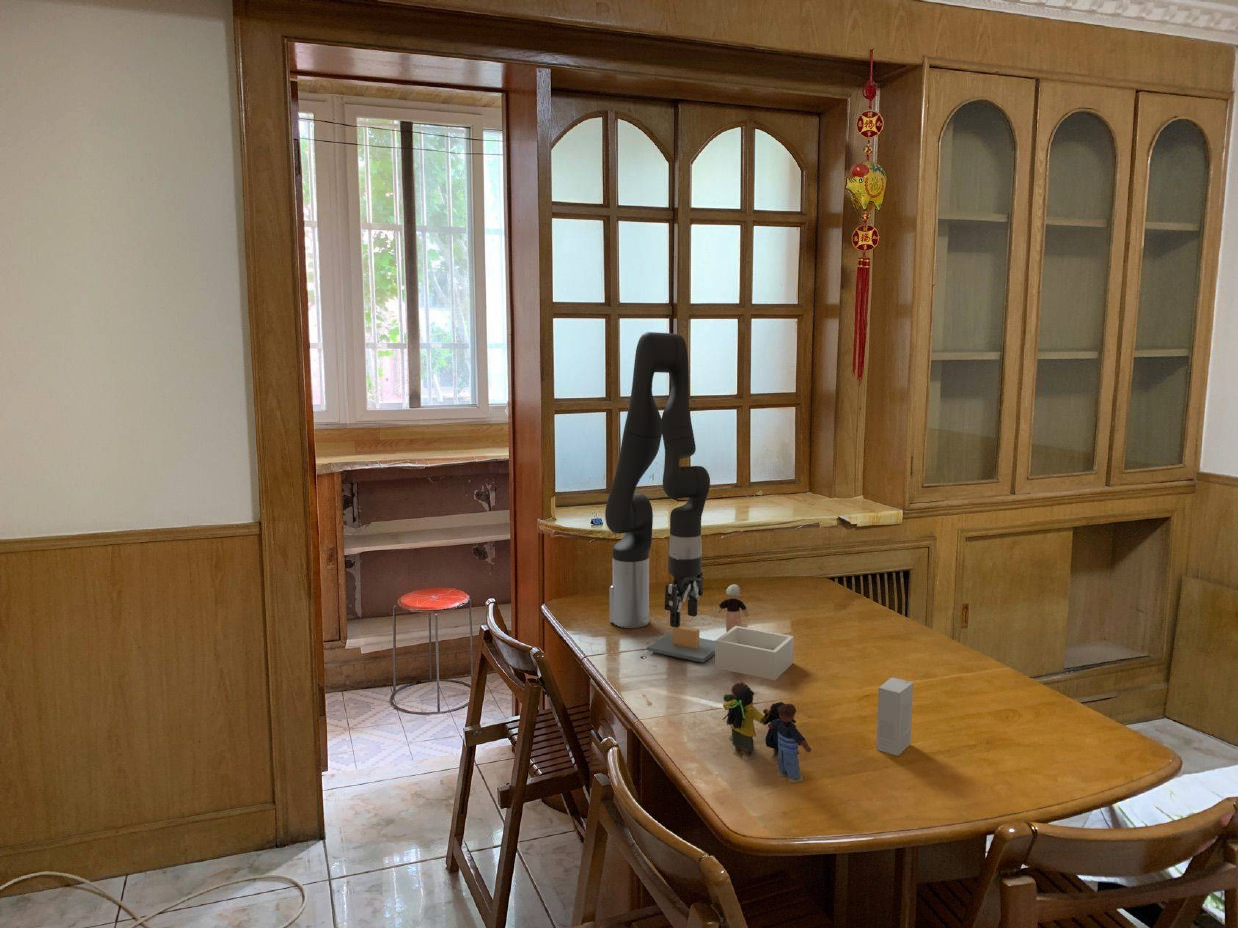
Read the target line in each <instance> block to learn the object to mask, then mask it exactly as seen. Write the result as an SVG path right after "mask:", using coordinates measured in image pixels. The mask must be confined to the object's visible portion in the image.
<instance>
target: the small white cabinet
mask: <svg viewBox="0 0 1238 928" xmlns="http://www.w3.org/2000/svg"><path fill="white" fill-rule="evenodd" d="M794 638H795V636H793V635H789V634H788V635H787V634H784V633H783V634H782V633H776V632H770V631H766V630H760V629H756V628H755V629H754V628H751V627H745V626H742V627H740V626H735V627H733V628H732V629H730V630H729V631H728V632H727V631H726V632H725V633H723V634H722V635H720V636H719V637H718V638H716V639H715V640H714V641H715V654H714V668H716V669H720V670H724V671H730V672H734V673H739V674H743V675H748V676H752V677H757V678H758V677H759V678H762V679H767V680H772V681H776V680H777V679H778V678H779V677H780V676H781V675H782V674H783V673H785V672H786V670H788V669H789V668H790V667H791V666H792V665H793V664H794ZM764 648H766V649H764ZM768 649H772V650H768Z"/></svg>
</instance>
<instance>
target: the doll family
mask: <svg viewBox="0 0 1238 928" xmlns="http://www.w3.org/2000/svg"><path fill="white" fill-rule="evenodd" d="M755 695H756V694H755V692H754V691H753V690H752V689H751V688H750V687H749V685H747V684H746V683H744V682H736V683H734V684H733V686H732V688H731V693H730V694H729V693H728V694H727V693H726V694H724V695H723V700H724V702H723V704H722V707H723V709H724V710H725V711H728V712H727V714H726V715H725V716H724V717H723V718H722V719H721V720H722V721H723V720H726V726H730V728H731V735H730V736H729V737H728V740H729V741H731V742H732V746H733V747H735V748H734V750H733V752H732V754H733V755H734V756H741V755H742V759H743V760H745V761H749V760H752V759H754V758H757V755H756V753H755V748H754V743H755V741H754V738H756V737H757V734H756V730H755V724H754V720H755V721H756V722H757V723H759V724H762V726H766V725H767V728H768V731H767V733H766V735H765V740H764V741H765V742H764V743H765V745H766V747H767V748H770V749H773V753H772V756H771V758H772V759H773V760H777V765H778V773H777V775H778V777H780V778H781V777H782V778H784V777H787V781H788V782H789V783H793V784H795V783H799V782H802V781H804V778H803V777H804V776H803V775H801V773H800V772H801V771H800V760H799V754H800V751H799V747H800V746H802V748H803V749H804V750H805V752H806V753H811V752H812V747H810V746H809V743H808V741H807V740H806V737H804V735H802V733H801V732H800V730H798V729H797V728H796V727H797V725H796V723H797V720H795V719H800V718H801V716H795V714H796V713H797V708H796V707H795V705H794V704H792V703H785V702H783V701H779V702H775V703H772V704H771V706H770V707H769V709H767V708H764V709H763V711H762V712H760V711H759V709H757V708H756V707H754V706H753V705H754V696H755ZM762 713H763V714H762Z"/></svg>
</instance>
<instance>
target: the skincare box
mask: <svg viewBox="0 0 1238 928" xmlns="http://www.w3.org/2000/svg"><path fill="white" fill-rule="evenodd" d="M913 694H914V683H913V682H912V681H909V680H908V681H907V680H904V679H900V678H896V677H890V678H889V679H888V680H886V682H884V683H883V684H882V685H880V686H879V687H878V695H877V697H878V699H877V725H876V726H877V728H876V750H877V751H879V752H883V753H887V754H890V755H893V756H897V757H899V756H900V755H901V754H902V753H903V752H904V751H905V750H906V749H907V748H908V747H909V746H910V745H911V744H912V725H913V700H914V698H913V697H914V695H913Z"/></svg>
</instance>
